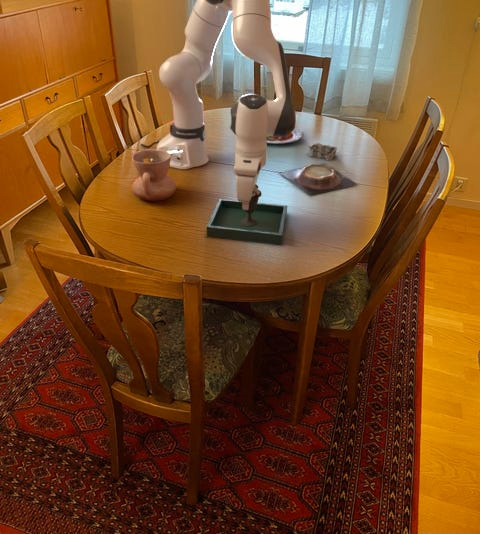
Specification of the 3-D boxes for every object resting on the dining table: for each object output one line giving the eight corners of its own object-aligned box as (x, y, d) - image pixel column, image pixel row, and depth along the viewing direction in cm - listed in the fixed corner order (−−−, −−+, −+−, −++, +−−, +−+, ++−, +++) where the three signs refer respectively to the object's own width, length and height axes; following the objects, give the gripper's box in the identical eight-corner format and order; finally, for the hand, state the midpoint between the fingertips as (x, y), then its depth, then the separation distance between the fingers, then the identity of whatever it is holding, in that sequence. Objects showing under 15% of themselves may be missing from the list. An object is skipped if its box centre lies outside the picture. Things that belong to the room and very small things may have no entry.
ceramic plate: (264, 123, 215) (265, 116, 214) (312, 135, 204) (313, 129, 202) (232, 138, 198) (232, 131, 197) (282, 152, 187) (283, 145, 185)
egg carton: (306, 155, 185) (307, 146, 183) (313, 149, 190) (314, 140, 188) (330, 161, 181) (332, 151, 178) (337, 155, 186) (339, 145, 184)
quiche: (324, 164, 179) (326, 154, 176) (357, 185, 164) (359, 174, 162) (279, 173, 171) (280, 163, 168) (309, 196, 156) (310, 185, 154)
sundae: (244, 230, 136) (246, 184, 127) (234, 219, 140) (235, 175, 131) (263, 225, 138) (266, 180, 129) (253, 215, 143) (255, 171, 134)
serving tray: (206, 236, 134) (206, 226, 132) (219, 207, 148) (219, 198, 146) (281, 245, 131) (281, 235, 129) (286, 214, 145) (287, 205, 143)
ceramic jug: (142, 182, 161) (137, 144, 153) (182, 186, 160) (179, 147, 151) (124, 206, 147) (119, 165, 138) (168, 210, 145) (165, 169, 137)
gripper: (245, 142, 135) (243, 184, 143) (232, 170, 119) (231, 216, 127) (266, 144, 134) (263, 186, 143) (256, 173, 118) (253, 219, 126)
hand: (248, 201), depth 135 cm, fingers open, 8 cm apart
